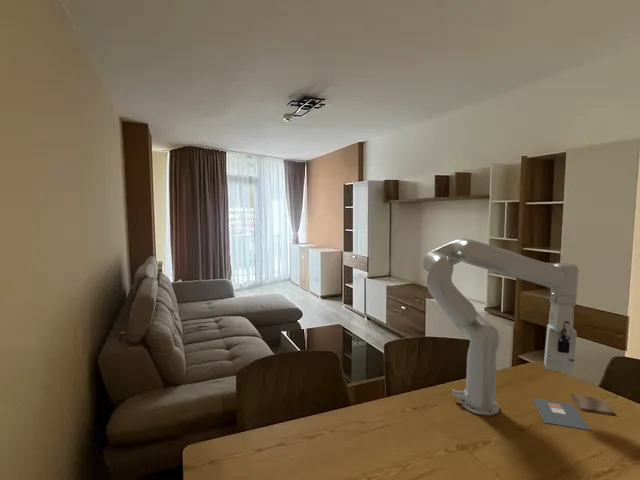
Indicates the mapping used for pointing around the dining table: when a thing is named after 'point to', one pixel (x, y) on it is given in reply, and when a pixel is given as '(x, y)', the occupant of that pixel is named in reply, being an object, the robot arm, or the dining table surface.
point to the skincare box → (559, 359)
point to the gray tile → (560, 414)
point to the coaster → (592, 404)
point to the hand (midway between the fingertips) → (559, 348)
